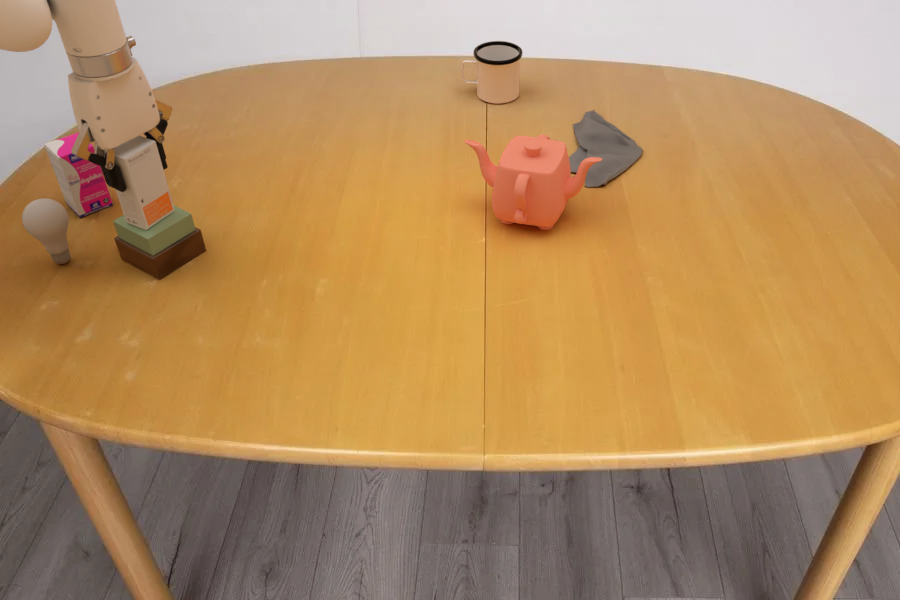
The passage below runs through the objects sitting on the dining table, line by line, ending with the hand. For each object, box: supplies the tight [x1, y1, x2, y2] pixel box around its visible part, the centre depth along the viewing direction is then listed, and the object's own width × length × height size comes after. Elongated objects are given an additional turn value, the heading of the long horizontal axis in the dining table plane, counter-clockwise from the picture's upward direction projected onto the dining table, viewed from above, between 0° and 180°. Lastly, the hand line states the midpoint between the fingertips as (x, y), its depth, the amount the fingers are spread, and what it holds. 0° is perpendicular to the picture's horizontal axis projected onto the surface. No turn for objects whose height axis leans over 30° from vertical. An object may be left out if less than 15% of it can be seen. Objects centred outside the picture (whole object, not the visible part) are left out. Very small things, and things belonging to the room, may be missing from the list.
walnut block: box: [113, 226, 207, 281], centre depth 133 cm, size 9×9×4 cm
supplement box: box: [43, 132, 114, 219], centre depth 141 cm, size 6×6×12 cm
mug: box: [460, 40, 523, 105], centre depth 171 cm, size 12×10×9 cm
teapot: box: [464, 133, 602, 231], centre depth 139 cm, size 15×17×13 cm
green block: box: [112, 204, 196, 256], centre depth 131 cm, size 8×8×3 cm
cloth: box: [568, 109, 643, 188], centre depth 157 cm, size 26×14×2 cm, turn 168°
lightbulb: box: [21, 197, 72, 265], centre depth 130 cm, size 6×6×11 cm
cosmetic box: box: [104, 135, 175, 230], centre depth 126 cm, size 6×4×12 cm
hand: (138, 176), depth 125 cm, fingers open, 6 cm apart
